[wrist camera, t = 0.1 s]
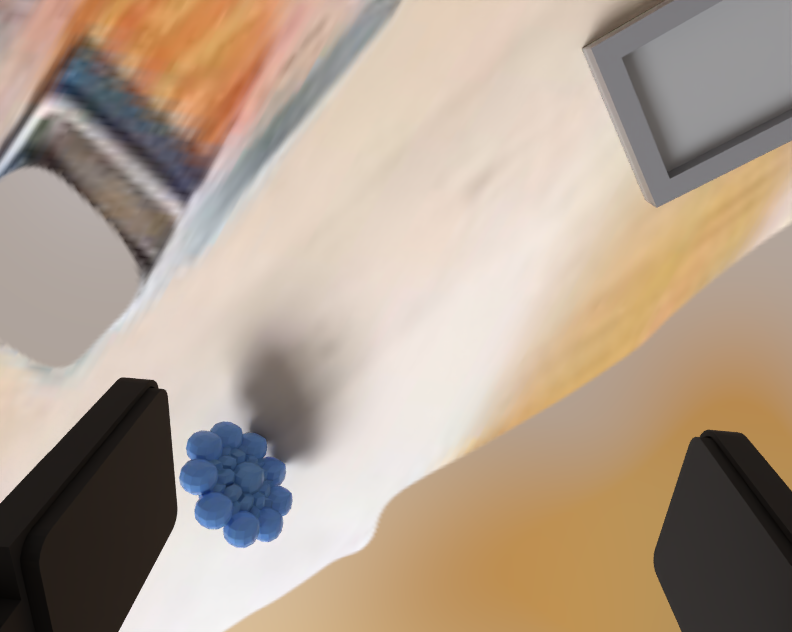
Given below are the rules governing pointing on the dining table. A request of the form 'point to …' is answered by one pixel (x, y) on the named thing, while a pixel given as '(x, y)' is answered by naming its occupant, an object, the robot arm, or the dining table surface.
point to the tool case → (697, 89)
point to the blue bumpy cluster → (236, 484)
